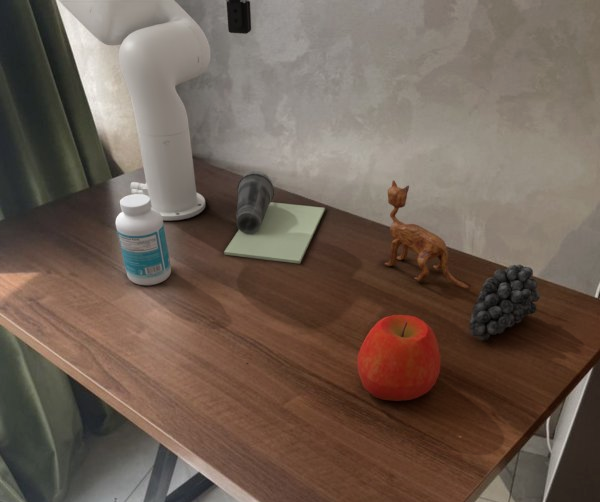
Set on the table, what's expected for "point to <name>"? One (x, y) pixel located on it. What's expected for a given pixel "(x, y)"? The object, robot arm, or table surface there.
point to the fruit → (504, 301)
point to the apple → (399, 359)
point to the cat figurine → (416, 239)
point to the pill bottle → (142, 241)
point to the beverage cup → (253, 201)
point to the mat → (279, 234)
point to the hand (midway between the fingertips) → (239, 31)
